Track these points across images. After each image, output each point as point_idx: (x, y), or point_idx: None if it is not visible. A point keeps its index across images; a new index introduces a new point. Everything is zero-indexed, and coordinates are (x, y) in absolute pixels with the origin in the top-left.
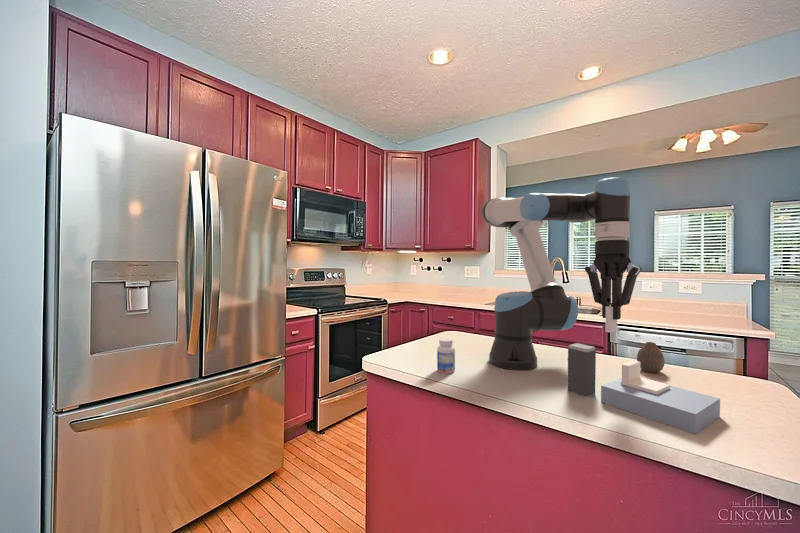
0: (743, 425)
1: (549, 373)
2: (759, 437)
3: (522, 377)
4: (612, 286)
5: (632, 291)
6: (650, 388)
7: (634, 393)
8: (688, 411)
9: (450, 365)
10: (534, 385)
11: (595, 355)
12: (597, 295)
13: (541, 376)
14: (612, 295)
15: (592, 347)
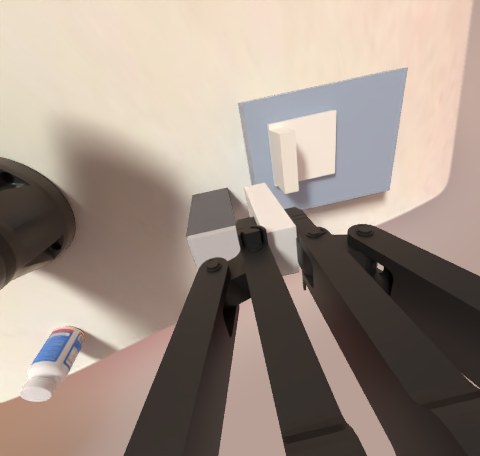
0: (411, 74)
1: (103, 184)
2: (428, 104)
3: (120, 248)
4: (361, 379)
5: (462, 271)
6: (323, 170)
7: (308, 199)
8: (380, 189)
9: (78, 346)
10: (164, 252)
11: (234, 219)
12: (234, 332)
13: (120, 213)
14: (327, 317)
15: (236, 237)
